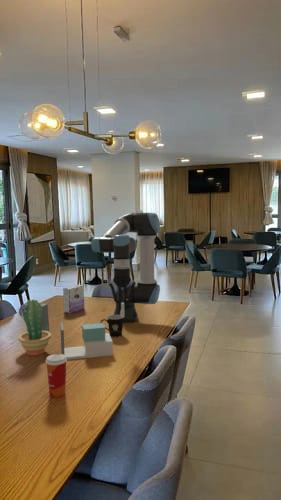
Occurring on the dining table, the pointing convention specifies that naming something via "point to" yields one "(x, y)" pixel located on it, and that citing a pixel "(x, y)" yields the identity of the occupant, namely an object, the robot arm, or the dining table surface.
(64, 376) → the paper cup
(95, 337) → the carton
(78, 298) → the candy box
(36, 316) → the potted cactus
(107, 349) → the display stand
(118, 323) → the coffee mug
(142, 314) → the dining table surface
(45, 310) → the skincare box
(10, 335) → the dining table surface
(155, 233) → the robot arm
